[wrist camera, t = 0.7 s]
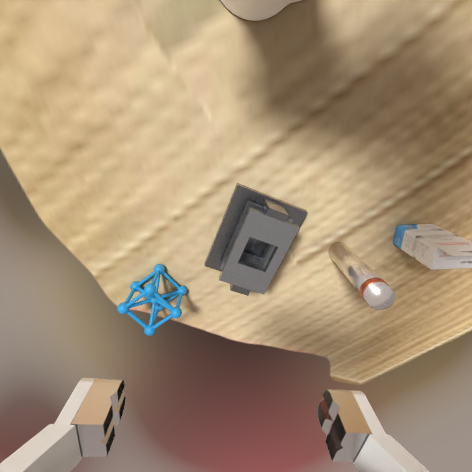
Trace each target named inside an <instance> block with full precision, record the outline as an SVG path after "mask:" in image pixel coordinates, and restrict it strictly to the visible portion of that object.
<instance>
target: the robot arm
mask: <svg viewBox="0 0 472 472" xmlns="http://www.w3.org/2000/svg"><path fill="white" fill-rule="evenodd" d="M297 1H301V0H221V2H222V3H223V4H224V5H225V7H226V8H227V9H228V10H229V11H231V12H232V13H233V14H235V15H237V16H238V17H240V18H243V19H246V20H252V21H258V20H264V19H267V18H270V17H272V16H274V15H275V14H277V13H278V12H280V11H281V10H282V9H283V8H284V7H286V6H287V5H288V4H290V3H293V2H297ZM124 387H125V383H124V380H112V379H97V378H82V379H81V380H80V381H79V383H78V384H77V386H76V387H75V389H74V391H73V393H72V394H71V396H70V398H69V399H68V401H67V403H66V405H65V407H64V408H63V410H62V411H61V413H60V415H59V417H58V418H57V420H56V422H55V423H54V424H49V425H48V426H47V427H46V428H44V429H43V430H42V431H40V432H39V433H38V434H37V435H35V436H34V437H33V438H32V439H30V440H29V441H28V442H27V443H25V444H24V445H23V446H22V447H20V448H19V449H18V450H17V451H15V452H14V453H13V454H12V455H10V456H9V457H8V458H7V459H5V460H4V461H3V462H2V463H0V472H70V471H71V470H72V469H73V468H74V467H75V466H76V465H77V463H78V462H79V461H80V460H81V459H82V457H107V456H108V453H109V450H110V448H111V445H112V442H113V440H114V437H115V429H114V427H115V426H116V425H117V424H118V423H119V422H120V420H121V417H122V414H123V410H124V406H125V399H126V397H125V393H124V392H123V389H124ZM323 397H324V400H322V401H321V402H320V403H319V406H318V418H319V422H320V426H321V428H322V430H323V431H324V432H325V433H326V434H327V437H326V444H327V447H328V450H329V453H330V457H331V460H332V461H333V462H349V463H350V462H351V463H354V466H355V467H356V468H357V470H358V471H359V472H429V471H428V470H427V469H426V468H425V467H424V466H423V465H421V463H419V462H418V461H417V460H416V459H415V458H414V457H413V456H412V455H411V454H410V453H409V452H407V450H405V449H404V448H403V447H402V446H401V445H400V444H399V443H398V442H397V441H396V440H395V439H393V438H392V437H391V436H390V435H386V433H385V432H384V430H383V428H382V426H381V424H380V422H379V420H378V419H377V417H376V415H375V413H374V411H373V409H372V407H371V405H370V404H369V402H368V400H367V398H366V396H365V394H364V393H363V392H362V391H349V390H325V391H324V393H323Z"/></svg>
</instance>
